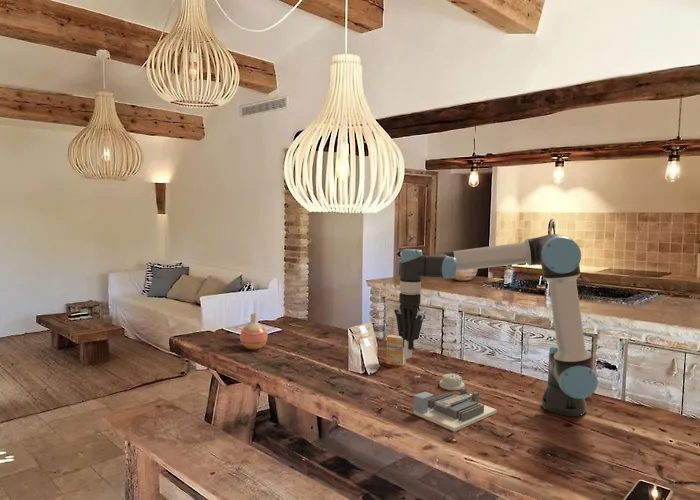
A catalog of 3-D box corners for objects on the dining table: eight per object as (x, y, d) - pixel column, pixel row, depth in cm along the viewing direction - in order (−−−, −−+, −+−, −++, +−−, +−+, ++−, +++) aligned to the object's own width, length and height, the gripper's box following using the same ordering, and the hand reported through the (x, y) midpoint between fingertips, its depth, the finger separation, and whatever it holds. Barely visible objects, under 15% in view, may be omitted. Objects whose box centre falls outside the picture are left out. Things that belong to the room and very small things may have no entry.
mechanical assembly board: (496, 412, 181) (497, 395, 180) (454, 431, 165) (455, 412, 164) (456, 397, 194) (456, 381, 194) (413, 413, 179) (413, 396, 178)
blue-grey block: (433, 409, 179) (433, 394, 179) (422, 413, 176) (422, 398, 175) (424, 405, 182) (425, 391, 182) (413, 410, 179) (414, 395, 178)
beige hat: (439, 390, 203) (464, 392, 201) (439, 379, 202) (465, 381, 200) (439, 381, 212) (463, 383, 211) (439, 371, 212) (464, 373, 210)
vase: (273, 347, 258) (273, 313, 256) (254, 353, 246) (254, 318, 245) (253, 342, 265) (253, 309, 263) (234, 349, 254) (234, 314, 252)
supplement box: (385, 364, 233) (386, 336, 232) (389, 361, 238) (389, 334, 236) (403, 366, 230) (403, 338, 229) (406, 363, 235) (406, 336, 233)
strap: (476, 399, 183) (476, 395, 183) (446, 409, 172) (446, 405, 172) (464, 395, 187) (465, 391, 187) (435, 405, 176) (435, 401, 176)
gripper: (431, 294, 177) (428, 360, 179) (404, 289, 187) (401, 351, 189) (416, 296, 172) (414, 364, 174) (389, 291, 182) (387, 355, 184)
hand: (407, 357), depth 182 cm, fingers closed
